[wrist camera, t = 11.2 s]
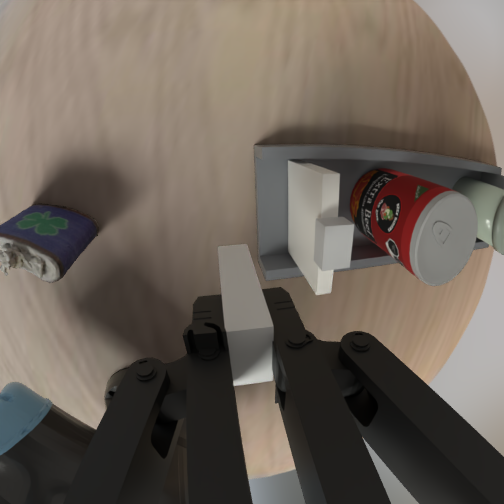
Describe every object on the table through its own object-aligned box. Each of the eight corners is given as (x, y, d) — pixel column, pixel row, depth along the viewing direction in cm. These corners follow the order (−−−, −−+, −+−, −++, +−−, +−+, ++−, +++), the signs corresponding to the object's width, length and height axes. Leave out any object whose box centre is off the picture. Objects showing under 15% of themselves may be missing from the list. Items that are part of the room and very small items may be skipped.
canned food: (359, 156, 25) (437, 178, 15) (414, 180, 27) (488, 210, 17) (336, 228, 28) (398, 281, 18) (393, 242, 30) (456, 290, 20)
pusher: (284, 251, 27) (318, 308, 19) (283, 160, 24) (326, 178, 15) (303, 249, 28) (344, 303, 19) (305, 159, 24) (357, 178, 15)
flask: (28, 223, 23) (-30, 267, 13) (30, 197, 22) (-33, 233, 12) (98, 242, 25) (53, 300, 16) (101, 215, 24) (51, 264, 15)
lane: (258, 261, 29) (272, 299, 23) (253, 145, 24) (270, 149, 18) (470, 236, 33) (502, 255, 27) (481, 161, 28) (517, 173, 22)
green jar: (443, 229, 30) (491, 258, 22) (450, 173, 27) (505, 192, 19) (473, 226, 31) (517, 251, 23) (480, 176, 28) (528, 195, 20)
